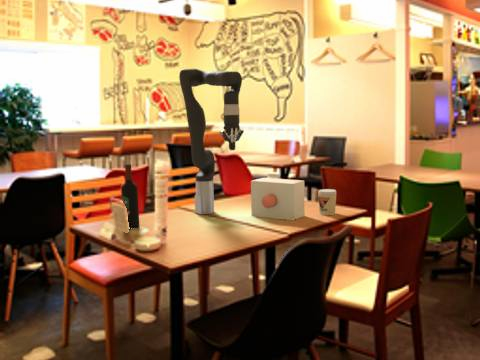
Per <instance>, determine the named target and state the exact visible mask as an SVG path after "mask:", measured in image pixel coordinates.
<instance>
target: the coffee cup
mask: <svg viewBox="0 0 480 360" xmlns="http://www.w3.org/2000/svg"><path fill="white" fill-rule="evenodd" d="M317 194H318V208H319V214H320V215H322V216H334V215H336V208H337V207H336V205H337V190H336V189H331V188H325V189H324V188H321V189H319V190H318V191H317Z"/></svg>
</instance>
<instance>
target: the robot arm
mask: <svg viewBox="0 0 480 360" xmlns="http://www.w3.org/2000/svg"><path fill="white" fill-rule="evenodd" d="M178 79H179V84H180V88H181V92H182V96H183V102H184V106H185V113H186V120H187V126H188V132H189V138H190V147H191V148H190V150H191V161H192V163H193V165H194V167H196V168H197V169H198V172H197V173H196V175H195V194H194V212H195V213H194V214H198V215H210V214H213V213H215V198H214V196H215V195H214V191H215V189H214V176H215V171H216V170H215V167H216V166H215V165H216V161H215V154H214V153H213V152H212V151H211V150H210V149H205V142H204V138H205V137H204V136H205V131H206V121H207V120H206V114H205V111H204V109H203V107H202V106H201V104H200V103H199V102H198V100H197V99H196V97H195V95H194V91H193V88H194V87H200V86H203V85H209V86H212V87H213V86H214V87H230V90H229V91H225V92H224V93H223V124H224V126H223V129H222V130H221V131H219V134H220V135H221V137H222V139H223V140H224V141H225V142H228V150H230V151H235V150H236V142H238V141H240V139H241V137H242V135H243V134H244V132H245V131H244V130H243V129H241V127H240V100H239V95H240V92H241V88H242V83H243V78H242V75H241V73H240V72H239V71H228V70H227V71H226V70H225V71H221V70H220V71H219V70H218V71H217V70H216V71H215V70H213V71H212V70H211V71H205V70H202V69H197V68H184V69H181V70H180V72H179V76H178Z"/></svg>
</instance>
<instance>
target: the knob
mask: <svg viewBox="0 0 480 360" xmlns="http://www.w3.org/2000/svg"><path fill="white" fill-rule="evenodd" d="M262 204H263V206H264V207H265V208H271V207H274V206H275V205H276V204H277V198H276V196H275V195H273V194H269V195H265V196H264V197H263V198H262Z"/></svg>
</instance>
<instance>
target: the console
mask: <svg viewBox="0 0 480 360" xmlns="http://www.w3.org/2000/svg"><path fill="white" fill-rule="evenodd" d="M269 194H273V195H275V196H276V198H277V204H276V205H275V206H274V207H271V208H265V207H264V206H263V204H262V198H263V197H264V196H265V195H269ZM250 198H251V217H258V216H259V218H266V219H267V218H268V219H277V220H284V219H286V221H295V219H296V220H298V219H301V218H303V217H305V213H306V212H305V210H306V209H305V204H306V203H305V202H306V201H305V199H306V198H305V180H299V179H290V178H289V179H285V178H281V179H274V178H267V177H261V178H256V179H253V180H251V181H250ZM300 217H301V218H300Z"/></svg>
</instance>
